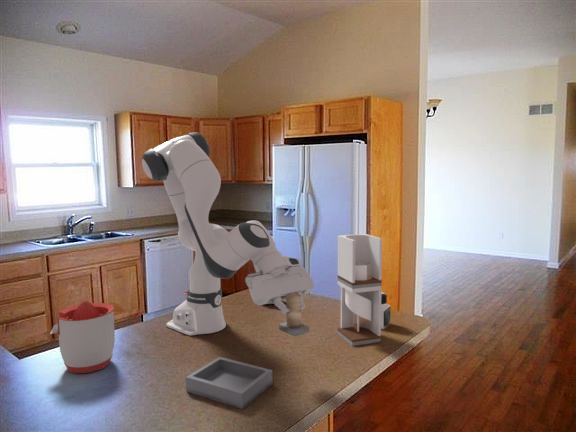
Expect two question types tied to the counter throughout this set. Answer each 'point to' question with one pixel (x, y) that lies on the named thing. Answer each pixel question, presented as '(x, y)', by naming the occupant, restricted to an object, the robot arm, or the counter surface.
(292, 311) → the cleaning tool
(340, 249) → the white miniature tower model
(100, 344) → the citrus juicer
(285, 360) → the counter surface
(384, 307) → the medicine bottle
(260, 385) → the tray
